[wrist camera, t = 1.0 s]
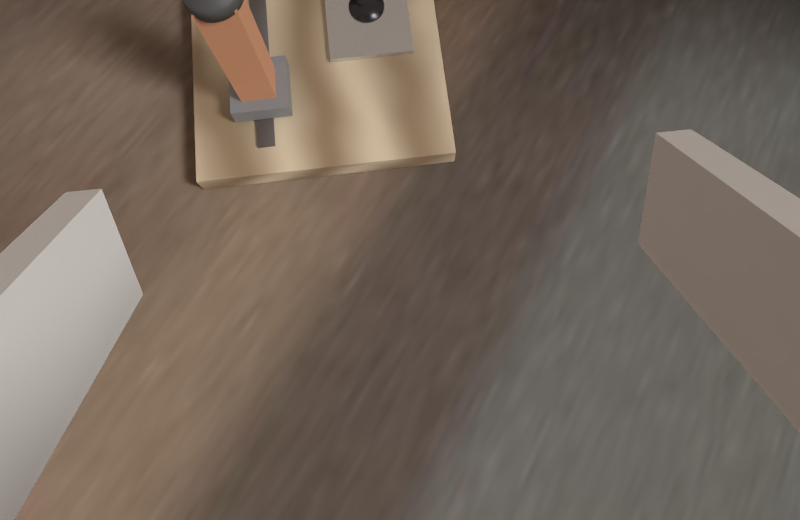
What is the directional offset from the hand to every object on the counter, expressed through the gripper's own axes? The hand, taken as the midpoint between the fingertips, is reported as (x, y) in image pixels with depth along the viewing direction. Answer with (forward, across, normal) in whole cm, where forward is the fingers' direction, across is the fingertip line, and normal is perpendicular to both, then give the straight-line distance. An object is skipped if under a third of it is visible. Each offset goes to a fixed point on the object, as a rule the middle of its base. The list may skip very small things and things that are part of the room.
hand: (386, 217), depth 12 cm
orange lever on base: (+29, -8, -4) cm, 31 cm away
